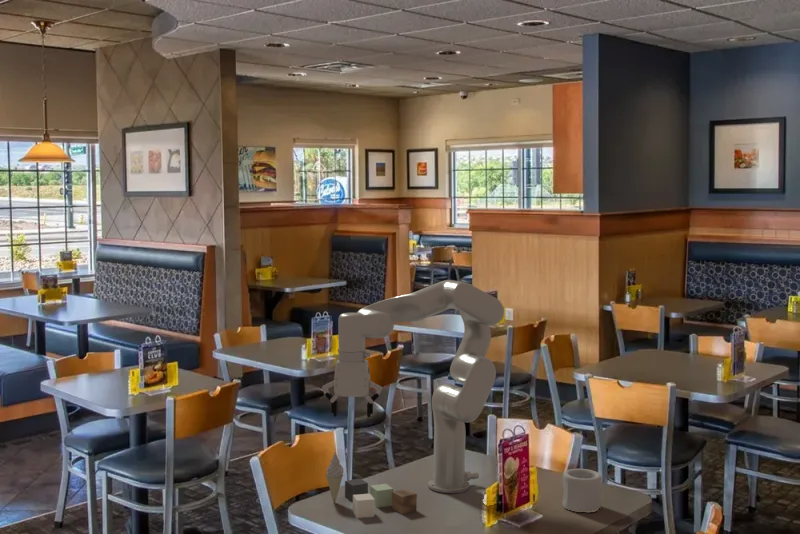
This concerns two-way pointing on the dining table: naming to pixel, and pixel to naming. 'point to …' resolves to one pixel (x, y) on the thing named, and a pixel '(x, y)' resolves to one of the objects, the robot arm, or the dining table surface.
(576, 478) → the mug
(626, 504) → the dining table surface
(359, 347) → the robot arm
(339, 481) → the ice cream cone
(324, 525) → the dining table surface
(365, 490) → the black block
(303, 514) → the dining table surface
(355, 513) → the offwhite block
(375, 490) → the sage block
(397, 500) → the walnut block
